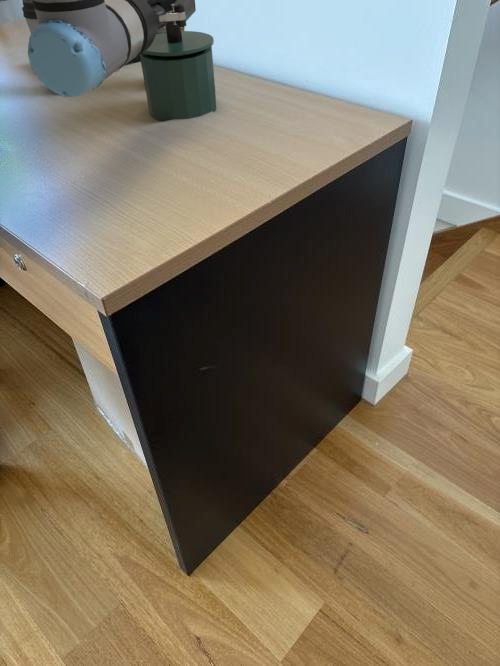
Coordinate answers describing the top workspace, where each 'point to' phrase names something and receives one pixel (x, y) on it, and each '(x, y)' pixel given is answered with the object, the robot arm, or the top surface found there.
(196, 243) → the top surface
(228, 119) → the top surface
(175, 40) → the lid
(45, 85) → the robot arm
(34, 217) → the top surface
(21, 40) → the top surface
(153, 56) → the pot
